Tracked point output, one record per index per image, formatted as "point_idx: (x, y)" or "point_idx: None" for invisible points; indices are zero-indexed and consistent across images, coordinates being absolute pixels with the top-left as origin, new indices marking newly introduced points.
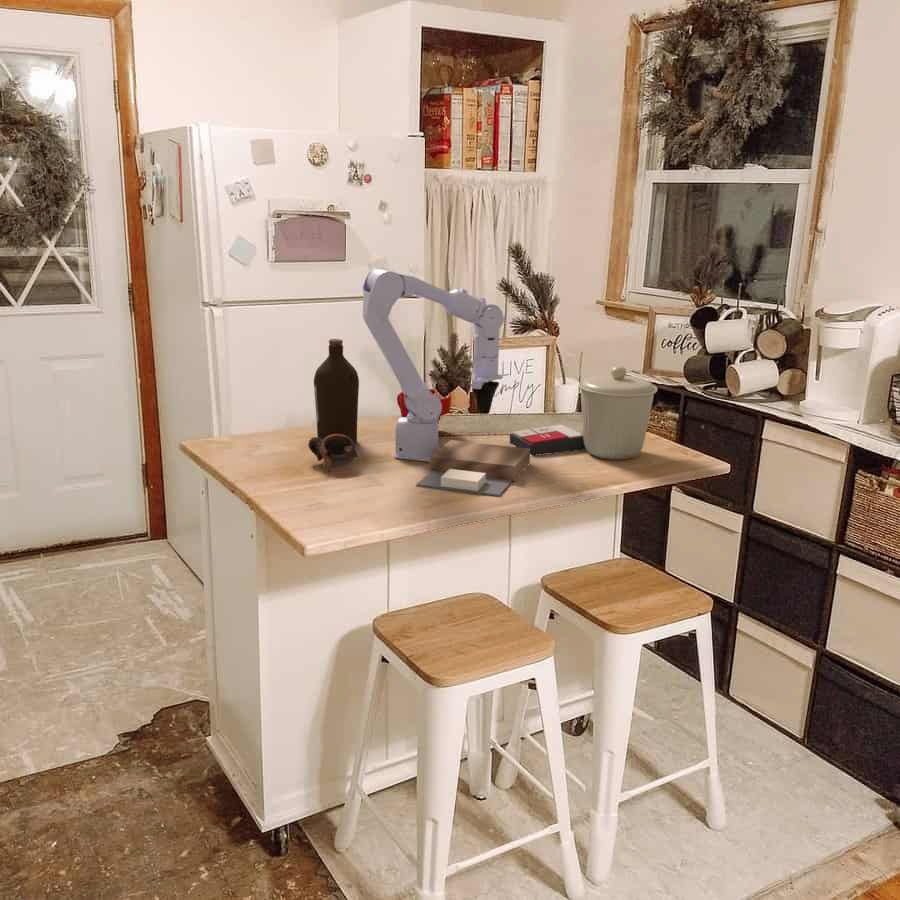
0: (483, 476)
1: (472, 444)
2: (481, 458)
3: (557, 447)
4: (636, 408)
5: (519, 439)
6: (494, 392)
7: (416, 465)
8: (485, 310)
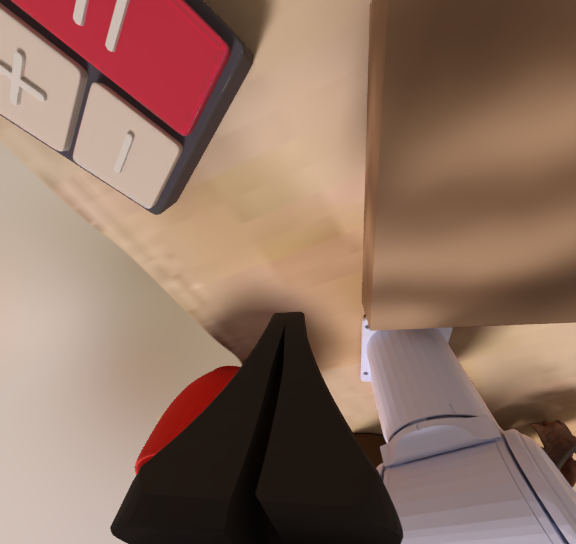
0: None
1: (399, 265)
2: None
3: None
4: None
5: (193, 151)
6: (227, 413)
7: (479, 331)
8: None
